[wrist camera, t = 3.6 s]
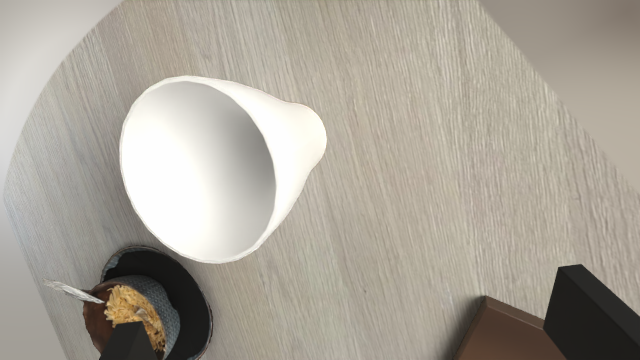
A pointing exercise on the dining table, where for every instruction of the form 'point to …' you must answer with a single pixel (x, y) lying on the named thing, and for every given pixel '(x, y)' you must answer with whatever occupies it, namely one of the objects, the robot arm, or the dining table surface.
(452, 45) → the dining table surface
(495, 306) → the walnut board
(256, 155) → the cup
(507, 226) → the dining table surface
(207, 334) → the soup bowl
